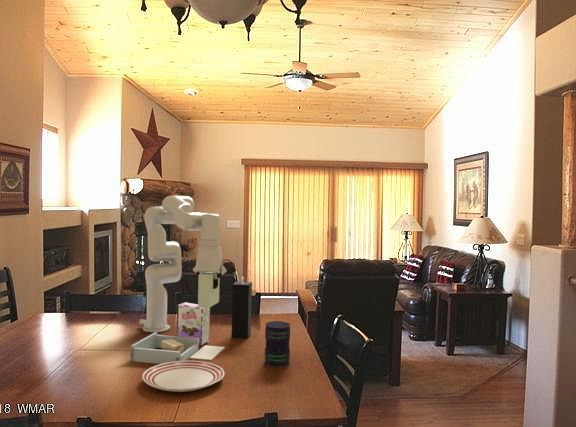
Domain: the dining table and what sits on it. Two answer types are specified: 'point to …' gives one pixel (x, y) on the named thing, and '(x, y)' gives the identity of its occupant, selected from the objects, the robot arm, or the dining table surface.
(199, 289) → the pale green block
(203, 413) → the dining table surface
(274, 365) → the storage jar
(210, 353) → the felt mat
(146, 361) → the grey square tray frame
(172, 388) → the dinner plate
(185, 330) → the candy box
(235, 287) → the tissue box
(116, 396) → the dining table surface
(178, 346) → the offcut upper
